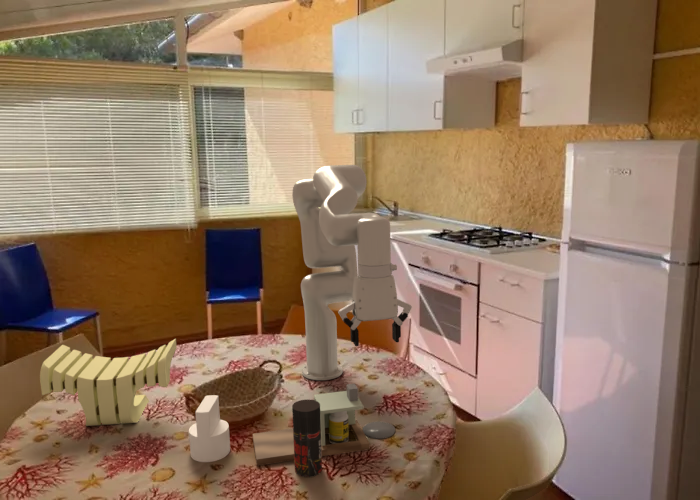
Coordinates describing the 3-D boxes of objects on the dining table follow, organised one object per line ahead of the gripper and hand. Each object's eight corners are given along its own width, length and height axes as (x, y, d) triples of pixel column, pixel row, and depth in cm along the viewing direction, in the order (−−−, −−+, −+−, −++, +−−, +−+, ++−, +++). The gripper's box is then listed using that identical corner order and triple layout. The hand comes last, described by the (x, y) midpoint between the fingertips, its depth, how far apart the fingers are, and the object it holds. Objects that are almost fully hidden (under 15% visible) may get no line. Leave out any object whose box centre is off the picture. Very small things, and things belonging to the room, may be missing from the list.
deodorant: (294, 463, 131) (292, 400, 128) (321, 461, 131) (319, 398, 128) (294, 478, 125) (292, 412, 122) (322, 476, 125) (320, 410, 122)
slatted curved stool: (46, 433, 146) (38, 366, 143) (69, 405, 162) (62, 344, 159) (169, 425, 149) (164, 359, 146) (180, 398, 165) (175, 338, 162)
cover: (314, 427, 143) (313, 383, 141) (354, 422, 145) (353, 378, 143) (321, 445, 134) (320, 398, 132) (363, 440, 137) (363, 393, 134)
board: (252, 439, 141) (252, 433, 141) (357, 425, 147) (357, 419, 147) (256, 465, 130) (256, 459, 130) (369, 449, 136) (369, 443, 135)
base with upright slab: (197, 442, 141) (193, 395, 139) (234, 441, 140) (231, 395, 138) (185, 462, 132) (181, 412, 130) (225, 462, 132) (221, 412, 129)
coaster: (359, 425, 147) (359, 423, 147) (389, 421, 149) (389, 419, 149) (367, 440, 140) (367, 439, 140) (399, 436, 141) (399, 434, 141)
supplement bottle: (346, 446, 137) (345, 412, 136) (327, 444, 138) (326, 411, 137) (350, 436, 142) (349, 403, 140) (331, 434, 143) (330, 402, 141)
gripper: (405, 265, 139) (406, 334, 142) (334, 270, 136) (336, 341, 139) (415, 271, 132) (416, 344, 135) (340, 277, 128) (342, 351, 131)
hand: (375, 342), depth 137 cm, fingers open, 9 cm apart
